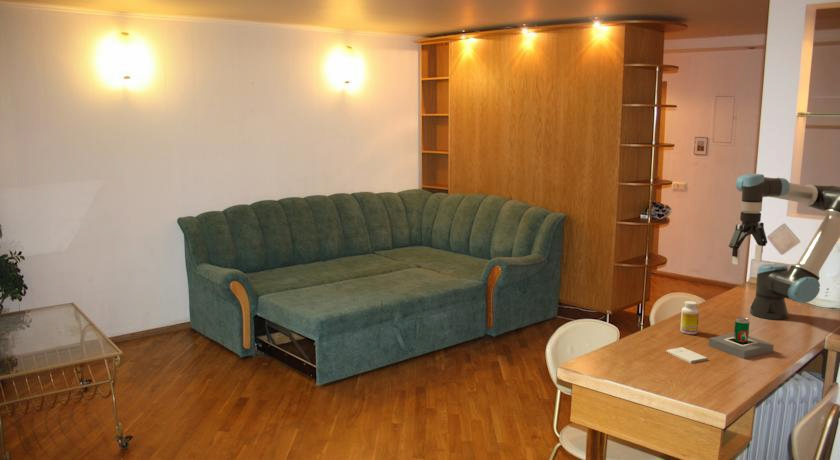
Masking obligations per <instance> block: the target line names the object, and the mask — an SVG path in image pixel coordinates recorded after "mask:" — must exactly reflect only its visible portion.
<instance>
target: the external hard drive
mask: <svg viewBox="0 0 840 460" xmlns="http://www.w3.org/2000/svg"><path fill="white" fill-rule="evenodd" d="M667 352H668V354H669V353H670V354H669V355H671V354H672V355H671V356H674V357H676V358H678V359H680V360H683V361H685V362H688V363H689V364H694V363H699V362H705V361H709V358H708V357H706V356H704V355H701V353H697V352H695V351H692V350H691V349H687V348H685V347H683V346H681V347H674V348H669V349H667V350H666V352H665V353H667Z"/></svg>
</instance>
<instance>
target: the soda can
mask: <svg viewBox="0 0 840 460" xmlns="http://www.w3.org/2000/svg"><path fill="white" fill-rule="evenodd" d="M733 331H734V332H733V333H734V340H733V342H735V343H738V344H741V345H745V344H748V336H750V335H749V334H750V319H749V318H747V317H742V316H741V317H740V316H739V317H736V318H735V320H734V328H733Z"/></svg>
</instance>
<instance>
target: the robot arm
mask: <svg viewBox="0 0 840 460" xmlns="http://www.w3.org/2000/svg"><path fill="white" fill-rule="evenodd" d="M735 188H736V189H737V190H738V191H739V192H741V207H740V216H739V217H740V218H739V220H740V221H741V224H739V223H737V224H735V229H734V232H733V234H732V237H731V240H730V241H729V244H728V247H729V248H730V249H732V253H731V254H732V255H731V256H732V258H731V265H737V266H738V265H740V257H741V255H740V254H741V248H740V247H741V246H742V244H743V242H744V241H745V239H746V238H747V237H748V236H749V235H752V237H753V239H754V240H755V242H756V244H755V249H754V261H757V262H762V260H763V259H762V257H763V252H764V251H763V249H764V247H766V246H767V244H768V239H767V236H766V231H765V227H764V225H765V224H764V222H761V218H762V213H761V212H763V211H762V210H763V209H762V208H763V198H775V199H779V200H786V201H791V202H797V203H800V204H802V205H803V206H805V207H810V208H813V209H817V210H820V211H822V212H823V213H824V214H825V215H824V216H825V217H824V218H823V220H822V222H821V224H820V225H819V227H818V229H816V232H815V234H814V235H813V237H812V239H810V241H809V243H808V245H807V247H806V248H805V250H804V252H803V253H802V255H801V257H800V258H799V260H798V261H797V263H795V264H792V265H791V266H790V267H789V268H788V266H787V265H786V264H777V263H776V264H775V263H773V264H761V265H759V266H758V268H757V272H756V285H755V297H754V299H753V301H752V303H751V306H750V308H749V314H750V315H752V316H755V317H756V318H760V319H766V320H785V319H788V316H789V311H788V308H787V303H786V299H787V300H791V301H792V302H795V303H797V302H798V303H801V304H805V303H810V302H811V301H814V299H815V298H817V296H818V294H819V293H820V290H821V289H820V287H821V284H820V282H819V280H820V275H819V273H820V271H821V270H822V267H823V266H824V264H825V263H826V261H827V260H828V257H829V255H830V254H831V253H832V251H833V249H834V247H835V246H836V244H837V243H838V240H839V239H840V186H837V185H818V184H816V185H815V184H812V183H811V184H810V183H809V184H806V185H802V184H797V183H792V182H789V181H788V179H787V178H783V177H765V175H764V174H763V173H762V174H761V173H746V174H741V175H740V176H738V177H737V179H736V181H735Z"/></svg>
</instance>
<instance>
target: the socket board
mask: <svg viewBox="0 0 840 460" xmlns="http://www.w3.org/2000/svg"><path fill="white" fill-rule="evenodd" d="M733 340H734V332H732V333H727V334H723V335H718V336H713V337H709V338H708V347H712V348H714V349H717V350H720V351H722V352H724V353H728V354H730V355H732V356H735V357H738V358H740V359H743V360H746V359H749V358H755V357H758V356H762V355H766V354H771V353H773V352H774V345H775V344H773V343H771V342H767V341H764V340H761V339H758V338H755V337H753V336H750V335H749V336H748V344H745V345H741V344H738V343H735V342H733Z"/></svg>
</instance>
